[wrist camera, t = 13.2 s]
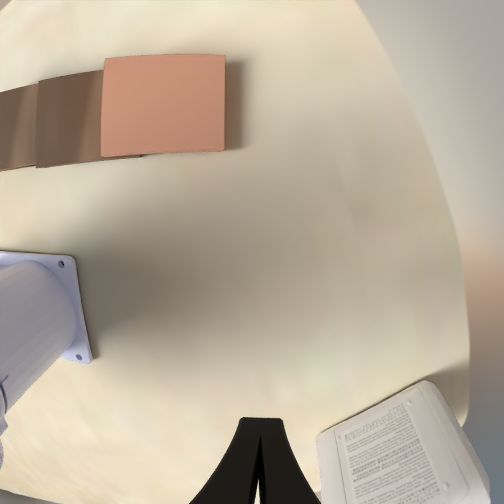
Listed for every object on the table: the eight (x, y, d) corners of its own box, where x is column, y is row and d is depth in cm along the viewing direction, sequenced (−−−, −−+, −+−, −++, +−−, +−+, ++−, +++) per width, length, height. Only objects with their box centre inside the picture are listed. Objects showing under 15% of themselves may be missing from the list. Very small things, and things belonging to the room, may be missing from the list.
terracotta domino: (219, 151, 16) (106, 157, 15) (219, 64, 15) (109, 67, 14) (224, 149, 15) (100, 156, 13) (225, 55, 14) (104, 58, 12)
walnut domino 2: (141, 157, 17) (45, 167, 15) (142, 73, 15) (47, 86, 14) (138, 156, 15) (35, 168, 14) (140, 66, 14) (38, 81, 13)
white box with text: (329, 459, 22) (345, 586, 10) (305, 434, 21) (316, 579, 9) (441, 400, 20) (505, 517, 8) (428, 368, 19) (507, 498, 7)
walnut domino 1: (63, 160, 17) (-11, 172, 15) (66, 84, 16) (-9, 101, 14) (56, 160, 15) (-22, 173, 14) (60, 79, 14) (-19, 97, 13)
